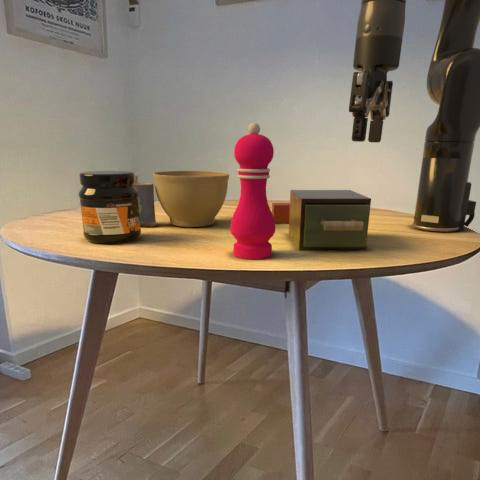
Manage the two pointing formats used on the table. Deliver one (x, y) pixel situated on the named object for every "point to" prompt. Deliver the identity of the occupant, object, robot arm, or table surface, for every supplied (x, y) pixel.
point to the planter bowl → (191, 195)
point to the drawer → (336, 225)
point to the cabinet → (318, 197)
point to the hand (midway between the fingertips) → (366, 141)
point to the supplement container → (109, 207)
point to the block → (281, 212)
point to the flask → (145, 203)
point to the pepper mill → (253, 197)
